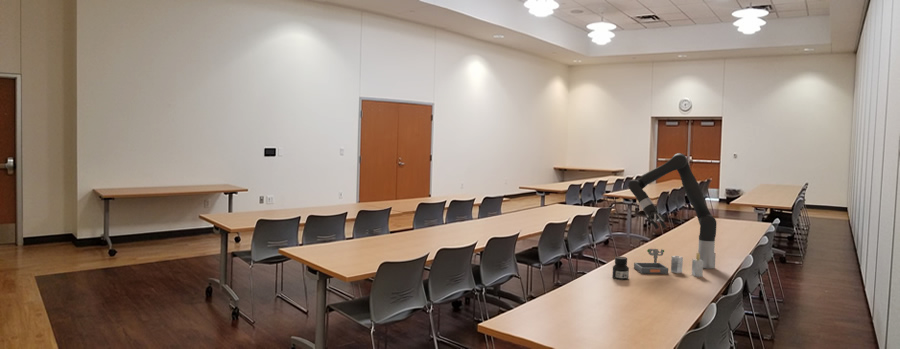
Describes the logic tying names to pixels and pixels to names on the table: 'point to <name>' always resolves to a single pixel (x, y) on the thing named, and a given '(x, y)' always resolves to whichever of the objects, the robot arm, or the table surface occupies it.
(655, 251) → the mechanical component
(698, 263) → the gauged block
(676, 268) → the block
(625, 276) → the ink bottle
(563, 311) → the table surface
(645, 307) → the table surface
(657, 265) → the tray
